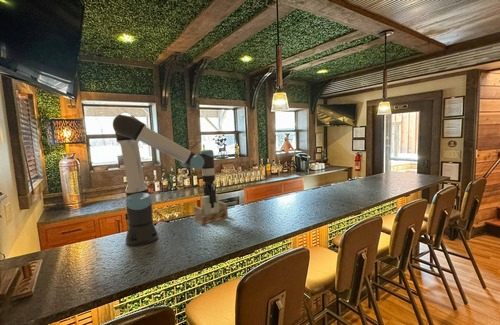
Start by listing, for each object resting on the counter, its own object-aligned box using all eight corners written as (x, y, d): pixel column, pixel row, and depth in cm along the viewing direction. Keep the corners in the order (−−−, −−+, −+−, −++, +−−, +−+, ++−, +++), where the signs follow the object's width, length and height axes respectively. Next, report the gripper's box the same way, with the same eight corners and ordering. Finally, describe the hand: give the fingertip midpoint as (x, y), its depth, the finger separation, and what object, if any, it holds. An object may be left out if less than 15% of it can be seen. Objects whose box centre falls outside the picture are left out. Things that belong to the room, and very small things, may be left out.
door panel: (205, 217, 152) (204, 197, 151) (202, 215, 155) (201, 196, 154) (219, 213, 157) (218, 194, 156) (217, 212, 160) (216, 194, 159)
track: (201, 224, 147) (200, 209, 146) (194, 220, 155) (193, 206, 155) (227, 217, 158) (227, 203, 157) (220, 214, 166) (219, 201, 165)
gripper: (220, 175, 150) (222, 213, 152) (208, 173, 163) (210, 208, 165) (209, 176, 145) (211, 216, 147) (197, 174, 158) (199, 210, 160)
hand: (210, 212), depth 156 cm, fingers open, 3 cm apart
